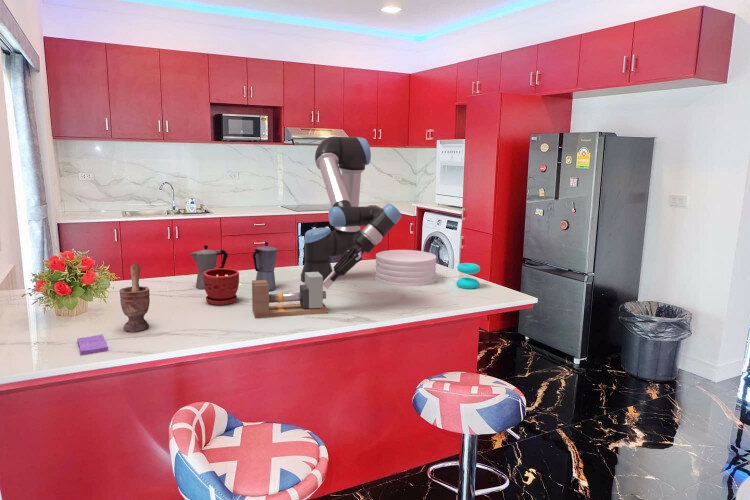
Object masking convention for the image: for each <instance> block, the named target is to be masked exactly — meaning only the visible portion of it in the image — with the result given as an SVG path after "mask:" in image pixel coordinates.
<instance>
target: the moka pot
mask: <svg viewBox="0 0 750 500" xmlns="http://www.w3.org/2000/svg"><path fill="white" fill-rule="evenodd" d="M278 249H279V248H276V247H274V246H269V242H267V241H266V242H264V245H263V246H258V247H256V248H254V252H253V253H252V258H253V265H254V269H255V272H256V278H255V280H266V281H267V283H268V284H269V292H271V291H274V290H276V288H277V287H276V279H275V278H276V277H275V267H276V262H277V257H278Z"/></svg>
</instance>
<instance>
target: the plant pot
mask: <svg viewBox="0 0 750 500" xmlns="http://www.w3.org/2000/svg"><path fill="white" fill-rule="evenodd" d="M216 275H217V276H216ZM203 281H204V288H205V289H204V291H205V294H206V296H205V300H206V302H207V303H208V304H212V305H216V306H223V305H229V304H230V305H231V304H233V303H234V302H235V301H237V299H238V295H237V292H238V290H239V284H240V271H239V270H237V269H235V268H227V267H224V268H218V267H217V268H215V269H210V270H207V271H205V272H204V273H203ZM209 283H211V284H209Z"/></svg>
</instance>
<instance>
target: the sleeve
mask: <svg viewBox="0 0 750 500" xmlns="http://www.w3.org/2000/svg"><path fill="white" fill-rule="evenodd" d="M304 285H306V286H307V287H308V289H309V308H322V307H323V303H324V299H323V291H324V286H323V276H322V275H321V274H320V273H319V272H305V282H304Z"/></svg>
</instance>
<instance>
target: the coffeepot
mask: <svg viewBox="0 0 750 500" xmlns="http://www.w3.org/2000/svg"><path fill="white" fill-rule="evenodd" d="M208 247H209V246H208V245H207V244H205V245H204V244H203V248H204V249H201V250H197V251H193V252H190V253H189V256H191V258H192V259H193V260H194V261H195V263H196V264H195V265H196V268H197V269H198V272H197V276H196V277H197V278H196V282H195V288H197V289H199V290H205V288H204V281H203V273H204V272H205V271H207V270H210V269H216V267H217V261H218V256H221V255H223V256H222V261H221V265H220V266H218V267H217V268H225V266H226V263H227V259H228V257H229V254H228V252H227V251H226V250H224V249H217V250H213V249H208ZM216 276H218V275H216ZM209 284H211V283H209Z"/></svg>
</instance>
